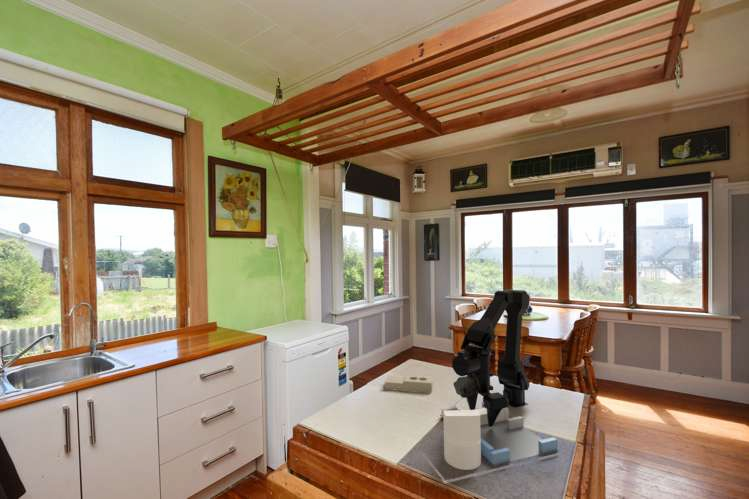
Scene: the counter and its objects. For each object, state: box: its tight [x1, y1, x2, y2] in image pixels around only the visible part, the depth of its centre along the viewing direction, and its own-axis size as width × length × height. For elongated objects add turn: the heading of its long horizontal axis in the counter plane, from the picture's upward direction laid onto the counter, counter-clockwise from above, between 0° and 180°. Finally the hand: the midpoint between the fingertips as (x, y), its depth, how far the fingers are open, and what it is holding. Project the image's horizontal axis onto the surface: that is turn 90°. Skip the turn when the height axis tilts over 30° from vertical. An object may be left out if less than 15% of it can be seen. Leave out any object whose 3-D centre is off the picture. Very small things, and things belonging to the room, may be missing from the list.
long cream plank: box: [475, 407, 510, 425], centre depth 102 cm, size 16×4×3 cm, turn 107°
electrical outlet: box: [384, 374, 434, 394], centre depth 130 cm, size 7×4×18 cm
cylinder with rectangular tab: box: [443, 409, 482, 471], centre depth 83 cm, size 9×9×12 cm
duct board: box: [439, 401, 559, 467], centre depth 96 cm, size 20×27×4 cm
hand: (481, 419), depth 102 cm, fingers open, 9 cm apart
